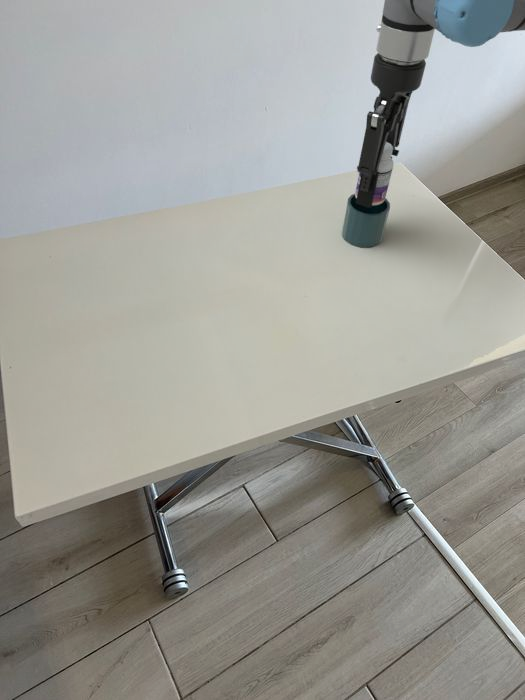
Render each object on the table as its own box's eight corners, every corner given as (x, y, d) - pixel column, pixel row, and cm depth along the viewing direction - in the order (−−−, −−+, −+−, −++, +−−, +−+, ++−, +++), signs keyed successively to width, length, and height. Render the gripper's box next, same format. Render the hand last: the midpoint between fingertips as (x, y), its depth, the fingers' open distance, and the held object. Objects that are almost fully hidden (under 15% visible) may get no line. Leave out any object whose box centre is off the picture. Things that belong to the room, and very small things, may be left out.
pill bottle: (349, 192, 96) (359, 140, 88) (376, 188, 97) (388, 136, 90) (362, 208, 92) (373, 155, 85) (390, 204, 94) (403, 152, 86)
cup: (387, 232, 102) (396, 200, 96) (372, 252, 97) (380, 220, 92) (351, 219, 104) (357, 187, 99) (335, 238, 100) (340, 206, 94)
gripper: (398, 33, 84) (370, 168, 101) (351, 70, 73) (329, 214, 90) (444, 43, 81) (407, 180, 99) (403, 83, 71) (369, 229, 88)
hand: (370, 196), depth 94 cm, fingers closed on pill bottle, 5 cm apart
